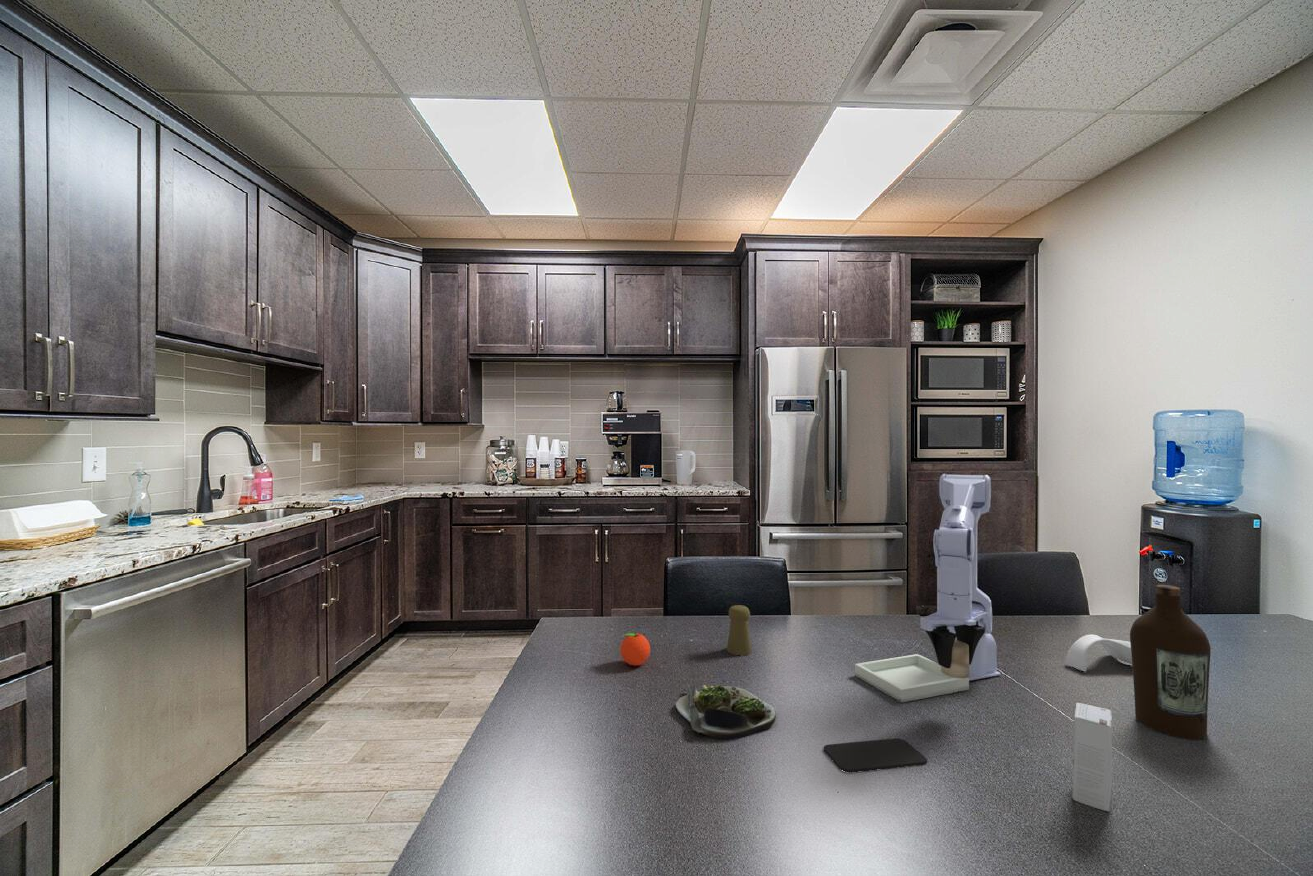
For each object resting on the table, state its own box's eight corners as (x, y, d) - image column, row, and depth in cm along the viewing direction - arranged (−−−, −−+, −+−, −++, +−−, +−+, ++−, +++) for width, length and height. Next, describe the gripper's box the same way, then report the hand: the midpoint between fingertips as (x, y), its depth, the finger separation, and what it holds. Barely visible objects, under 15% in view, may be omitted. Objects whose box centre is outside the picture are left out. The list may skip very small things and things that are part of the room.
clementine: (610, 667, 125) (610, 635, 125) (623, 656, 131) (624, 626, 131) (643, 672, 122) (643, 640, 122) (654, 661, 128) (654, 630, 128)
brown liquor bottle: (1119, 708, 105) (1117, 577, 106) (1188, 716, 102) (1186, 582, 102) (1150, 736, 95) (1148, 591, 95) (1227, 746, 92) (1225, 596, 92)
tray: (917, 665, 126) (917, 654, 126) (969, 689, 113) (968, 677, 113) (854, 675, 120) (854, 664, 120) (901, 702, 107) (901, 689, 107)
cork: (751, 656, 131) (751, 610, 131) (726, 654, 132) (725, 609, 132) (752, 647, 137) (752, 603, 137) (727, 646, 138) (727, 602, 138)
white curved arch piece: (1127, 652, 135) (1127, 623, 135) (1183, 671, 123) (1183, 639, 123) (1051, 661, 129) (1050, 630, 129) (1102, 682, 118) (1101, 648, 118)
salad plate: (653, 702, 108) (653, 678, 108) (729, 685, 116) (729, 663, 116) (703, 750, 91) (703, 722, 91) (789, 726, 99) (788, 701, 99)
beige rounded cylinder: (954, 667, 106) (953, 638, 106) (974, 676, 101) (974, 646, 101) (935, 670, 104) (935, 641, 104) (956, 679, 100) (955, 649, 100)
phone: (931, 761, 86) (843, 770, 84) (931, 767, 86) (843, 776, 84) (901, 737, 94) (820, 745, 91) (901, 742, 94) (820, 750, 91)
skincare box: (1074, 781, 82) (1073, 700, 82) (1113, 793, 79) (1112, 709, 79) (1071, 801, 77) (1070, 715, 78) (1113, 815, 74) (1111, 725, 75)
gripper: (942, 601, 97) (942, 678, 96) (1002, 593, 101) (1002, 667, 101) (911, 591, 103) (911, 663, 103) (969, 584, 108) (969, 653, 108)
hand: (954, 664), depth 103 cm, fingers closed on beige rounded cylinder, 5 cm apart
